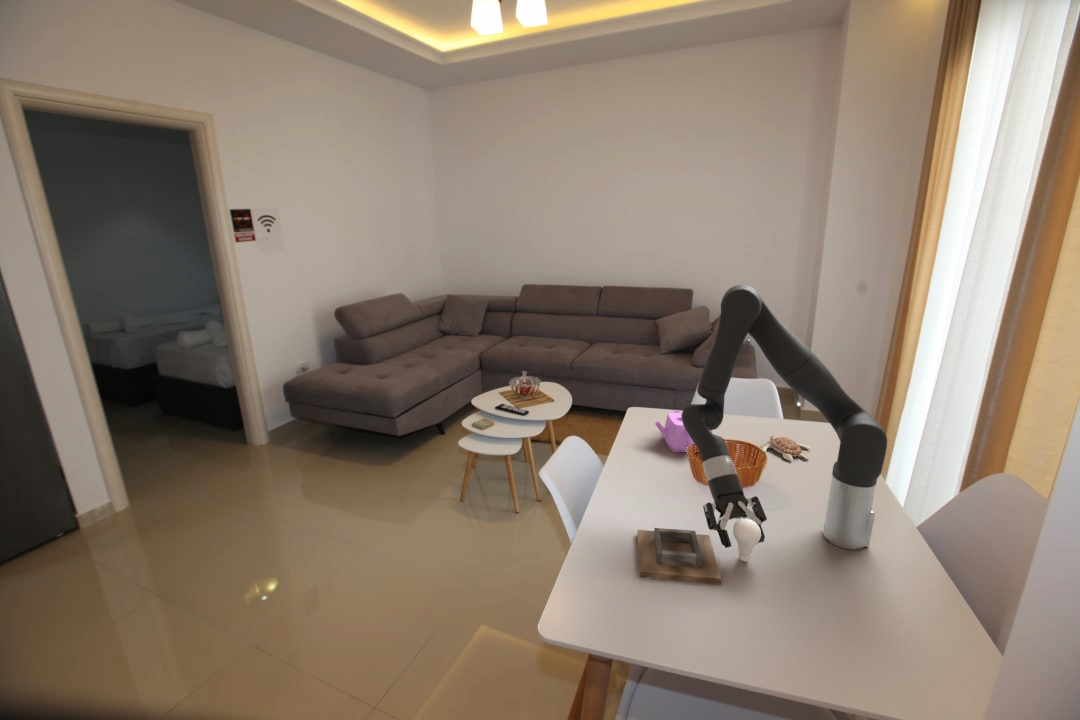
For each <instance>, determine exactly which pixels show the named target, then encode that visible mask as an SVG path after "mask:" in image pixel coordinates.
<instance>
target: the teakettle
mask: <svg viewBox="0 0 1080 720" xmlns="http://www.w3.org/2000/svg"><path fill="white" fill-rule="evenodd" d="M654 425H655V426H656V427H657V429H658V430H659V432H660V433H661V435H662V436H663V438H664V440H665V444H666V445H667V447H668V448H669V449H670V451H671V452H673V453H675V452H685V453H684V454H686V451H687V447H689V446H690V445H692V444H694V442H693V440H692V439H691V437H690V436H689V434H688V432H687V431H686V429H685V427H684V425H683V422H682V412H680V410H677V409H676V410H674V412H670V413H667V416H666V419H665V424H664V425H663V424H662V423H661V421H659V420H658V421H655V422H654ZM709 431H710V432H711V433H712V434H713V430H709Z"/></svg>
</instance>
